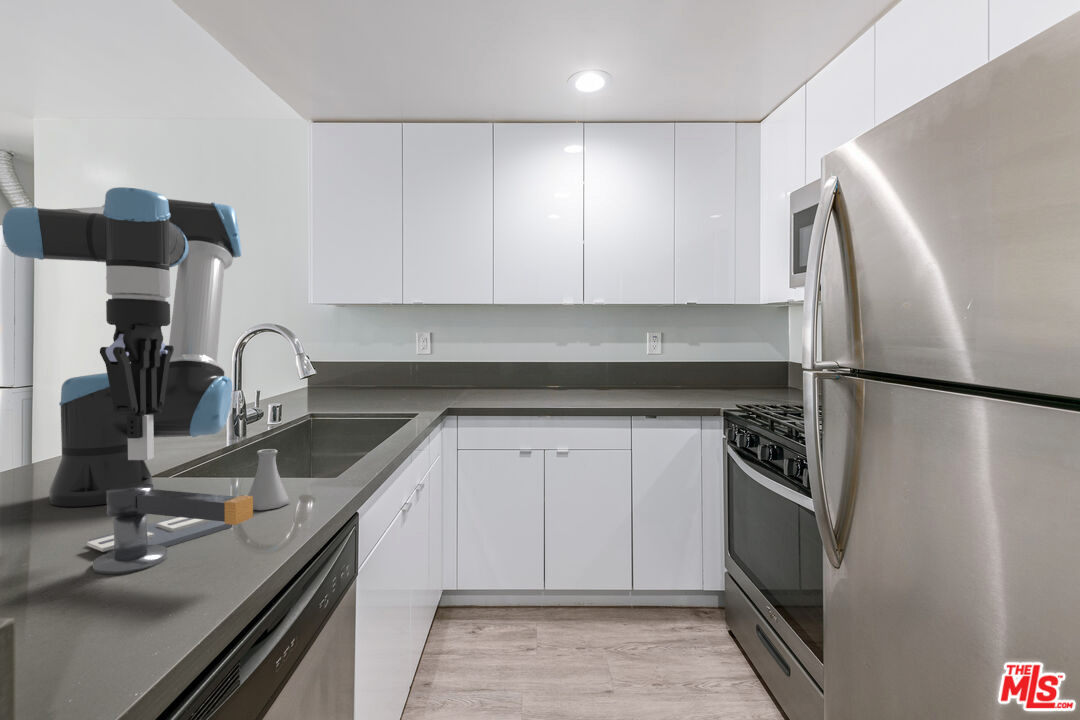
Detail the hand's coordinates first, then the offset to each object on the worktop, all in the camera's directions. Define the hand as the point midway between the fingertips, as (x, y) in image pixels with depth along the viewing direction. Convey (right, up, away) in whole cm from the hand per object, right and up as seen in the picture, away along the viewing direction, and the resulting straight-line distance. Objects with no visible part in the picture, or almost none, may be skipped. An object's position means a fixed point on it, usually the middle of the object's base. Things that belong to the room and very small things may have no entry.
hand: (141, 458), depth 80 cm
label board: (+2, -12, +3) cm, 13 cm away
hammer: (+11, -6, -9) cm, 16 cm away
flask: (+10, -12, +18) cm, 24 cm away
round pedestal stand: (+4, -13, -7) cm, 15 cm away
